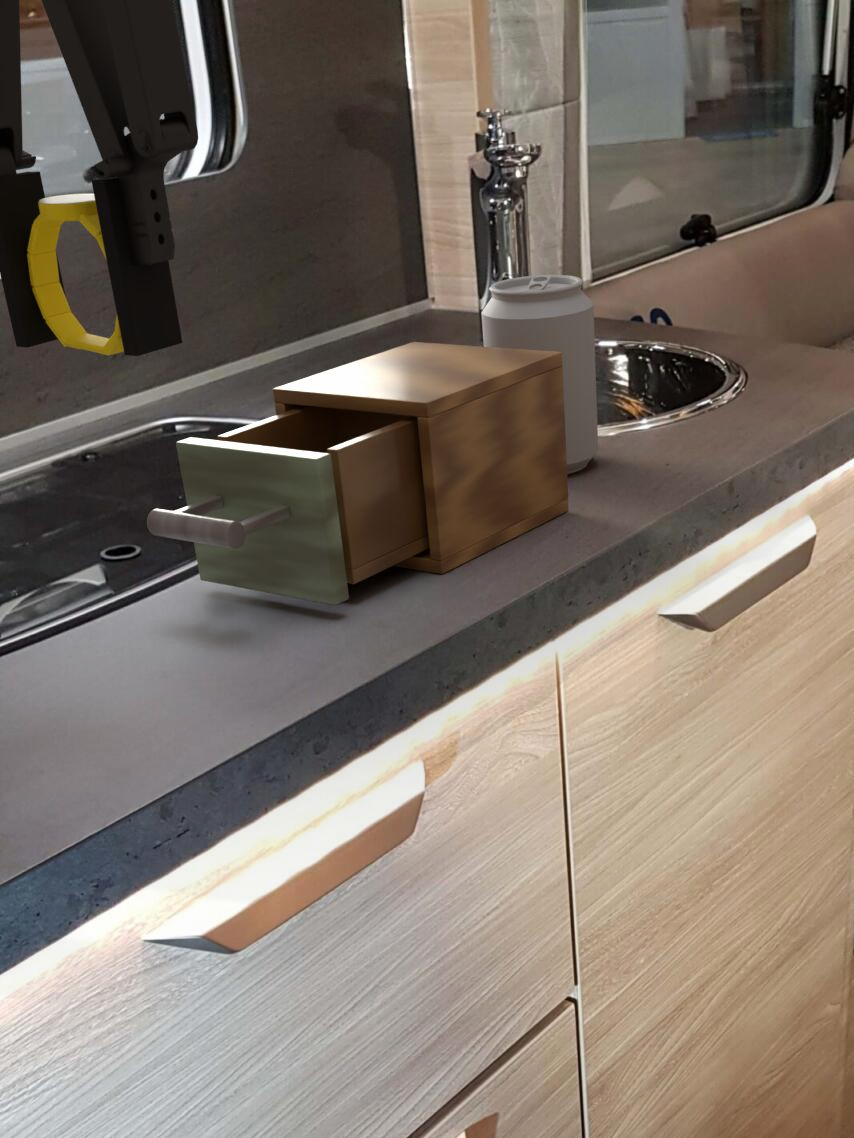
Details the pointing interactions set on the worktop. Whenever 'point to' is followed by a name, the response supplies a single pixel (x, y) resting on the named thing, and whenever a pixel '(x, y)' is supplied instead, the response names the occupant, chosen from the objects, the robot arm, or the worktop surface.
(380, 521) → the drawer
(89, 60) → the robot arm
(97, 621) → the worktop surface
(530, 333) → the can
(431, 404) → the cabinet
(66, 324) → the watch
